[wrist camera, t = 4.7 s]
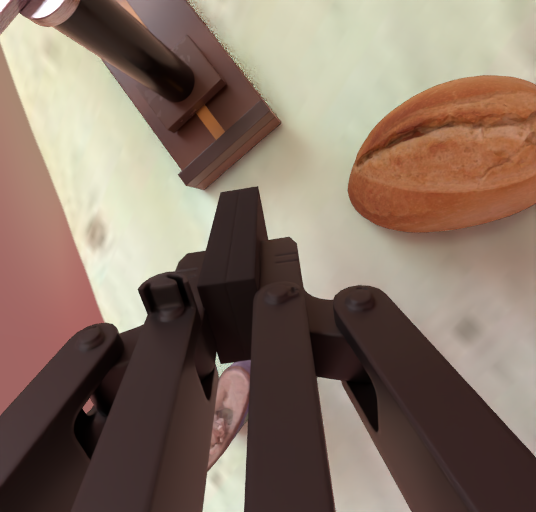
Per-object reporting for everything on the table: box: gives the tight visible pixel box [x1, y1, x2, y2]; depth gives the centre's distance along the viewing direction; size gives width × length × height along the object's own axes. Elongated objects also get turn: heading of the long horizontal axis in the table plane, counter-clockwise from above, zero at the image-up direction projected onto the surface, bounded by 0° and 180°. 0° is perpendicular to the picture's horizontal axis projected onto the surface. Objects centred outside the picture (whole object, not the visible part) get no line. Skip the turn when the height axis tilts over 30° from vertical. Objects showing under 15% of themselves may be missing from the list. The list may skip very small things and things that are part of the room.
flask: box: [207, 360, 251, 472], centre depth 31 cm, size 9×3×11 cm, turn 152°
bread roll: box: [348, 75, 536, 232], centre depth 27 cm, size 10×15×8 cm, turn 106°
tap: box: [0, 0, 226, 133], centre depth 27 cm, size 10×8×16 cm
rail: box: [101, 0, 281, 190], centre depth 35 cm, size 24×9×4 cm, turn 38°
